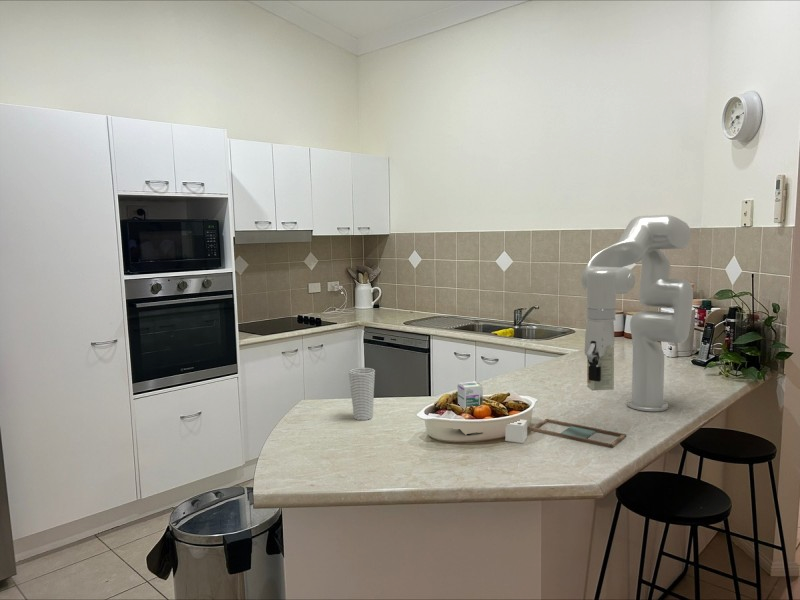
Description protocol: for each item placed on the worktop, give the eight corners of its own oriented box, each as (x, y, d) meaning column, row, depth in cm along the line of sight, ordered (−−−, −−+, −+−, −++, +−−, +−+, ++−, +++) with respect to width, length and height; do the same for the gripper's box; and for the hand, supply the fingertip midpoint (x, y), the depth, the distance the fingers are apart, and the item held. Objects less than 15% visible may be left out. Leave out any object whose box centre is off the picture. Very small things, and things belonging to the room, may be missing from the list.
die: (509, 435, 167) (509, 418, 166) (527, 437, 165) (527, 419, 164) (505, 440, 163) (505, 423, 162) (523, 443, 160) (523, 425, 160)
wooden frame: (546, 421, 179) (546, 418, 178) (626, 436, 163) (626, 434, 163) (530, 430, 170) (530, 427, 170) (612, 448, 155) (612, 445, 155)
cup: (360, 412, 192) (358, 366, 191) (381, 415, 188) (380, 369, 186) (344, 419, 185) (343, 372, 183) (366, 423, 181) (365, 374, 179)
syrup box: (465, 435, 168) (464, 386, 166) (457, 429, 173) (457, 382, 172) (483, 433, 169) (483, 385, 167) (475, 427, 175) (475, 380, 173)
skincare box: (608, 386, 163) (609, 343, 162) (614, 390, 159) (615, 346, 158) (585, 386, 163) (586, 344, 162) (590, 390, 159) (591, 347, 158)
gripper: (599, 309, 168) (599, 369, 170) (574, 317, 155) (574, 382, 157) (626, 311, 163) (625, 373, 165) (602, 319, 150) (601, 386, 152)
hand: (600, 377), depth 161 cm, fingers closed on skincare box, 7 cm apart
